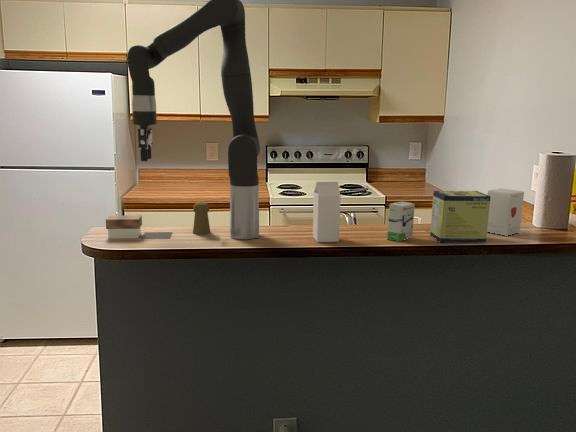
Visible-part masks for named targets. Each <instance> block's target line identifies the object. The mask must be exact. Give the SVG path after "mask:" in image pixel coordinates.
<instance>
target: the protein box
mask: <svg viewBox="0 0 576 432" xmlns="http://www.w3.org/2000/svg"><path fill="white" fill-rule="evenodd" d="M432 193H433V195H432V196H433V197H432V205H431V221H430V232H429V233H430V234H429V235H431V236H430V237H432V236H433V237H434V239H435V238H436V239H437V240H438V241H437V240H436V239H435V240H436V241H437V242H439V241H440V242H486V243H487V237H488V236H487V234H488V232H487V227H488V217H489V207H490V197H491V196H488V194H485V193H484V192H481V191H478V190H433V192H432ZM433 237H432V238H433ZM440 242H439V243H440Z"/></svg>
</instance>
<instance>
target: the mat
mask: <svg viewBox="0 0 576 432" xmlns="http://www.w3.org/2000/svg"><path fill="white" fill-rule="evenodd" d="M172 235H173V231H160V232H159V231H153V232H152V231H151V232H150V231H149V232H147V231H146V232H145V231H144V233H143V235H142V236H141V238H140V240H170V239H171V238H172Z"/></svg>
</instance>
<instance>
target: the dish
mask: <svg viewBox="0 0 576 432" xmlns="http://www.w3.org/2000/svg"><path fill="white" fill-rule="evenodd" d="M141 227H142V226H141ZM141 227H140V228H139V229H107V235H108V236H107V237H108V238H107V239H139V237H140V236H141V234H142V229H141Z"/></svg>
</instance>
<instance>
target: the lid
mask: <svg viewBox="0 0 576 432" xmlns="http://www.w3.org/2000/svg"><path fill="white" fill-rule="evenodd" d="M142 225H143V215H135V214H134V215H109V216H108V217H107V218H106V219H105V230H108V229H139V228H140V227H142Z"/></svg>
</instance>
